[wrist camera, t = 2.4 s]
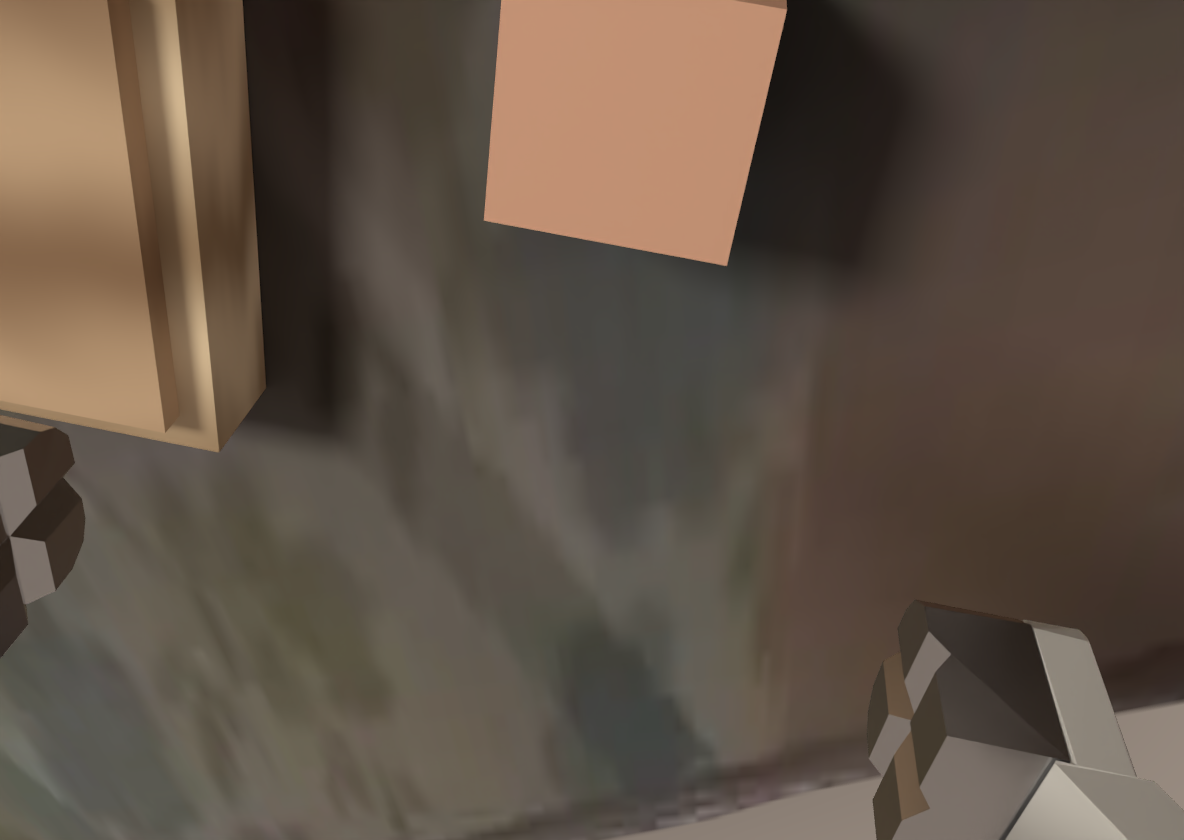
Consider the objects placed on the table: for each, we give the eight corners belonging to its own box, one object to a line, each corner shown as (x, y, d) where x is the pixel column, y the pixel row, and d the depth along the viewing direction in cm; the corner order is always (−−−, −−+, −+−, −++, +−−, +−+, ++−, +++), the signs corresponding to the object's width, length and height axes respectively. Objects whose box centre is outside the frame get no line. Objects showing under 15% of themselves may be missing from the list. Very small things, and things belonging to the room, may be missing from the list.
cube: (552, -89, 22) (505, -41, 18) (783, -49, 22) (787, 9, 18) (530, 135, 25) (484, 220, 21) (733, 172, 25) (726, 266, 21)
